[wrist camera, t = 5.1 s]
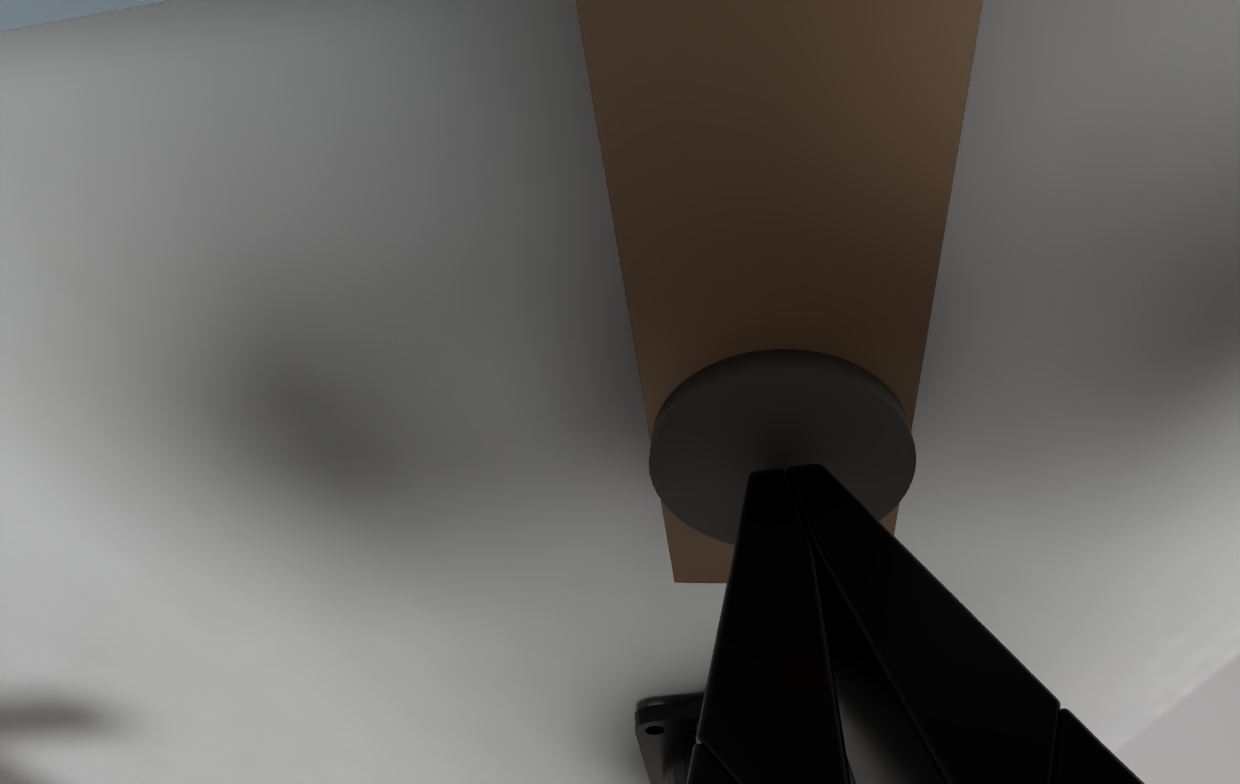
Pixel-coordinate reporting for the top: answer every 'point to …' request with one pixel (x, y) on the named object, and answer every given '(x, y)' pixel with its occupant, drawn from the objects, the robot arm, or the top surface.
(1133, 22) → the top surface
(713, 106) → the lever
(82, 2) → the open container
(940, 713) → the robot arm
